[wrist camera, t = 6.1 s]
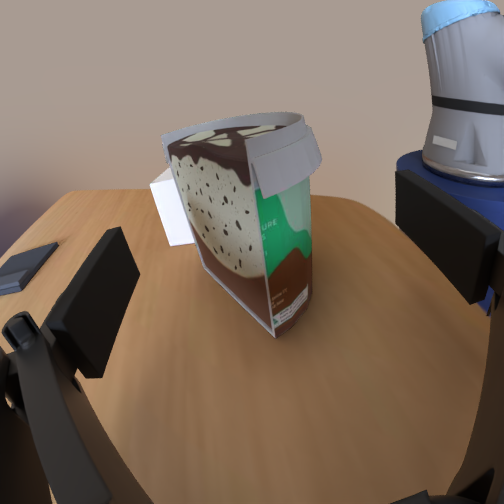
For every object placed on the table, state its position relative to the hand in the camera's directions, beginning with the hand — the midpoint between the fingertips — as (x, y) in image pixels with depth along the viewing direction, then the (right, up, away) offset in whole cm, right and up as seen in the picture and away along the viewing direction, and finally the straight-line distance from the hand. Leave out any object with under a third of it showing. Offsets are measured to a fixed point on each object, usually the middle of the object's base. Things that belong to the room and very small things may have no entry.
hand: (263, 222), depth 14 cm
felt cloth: (-30, -4, +17) cm, 35 cm away
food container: (+1, -3, +7) cm, 7 cm away
